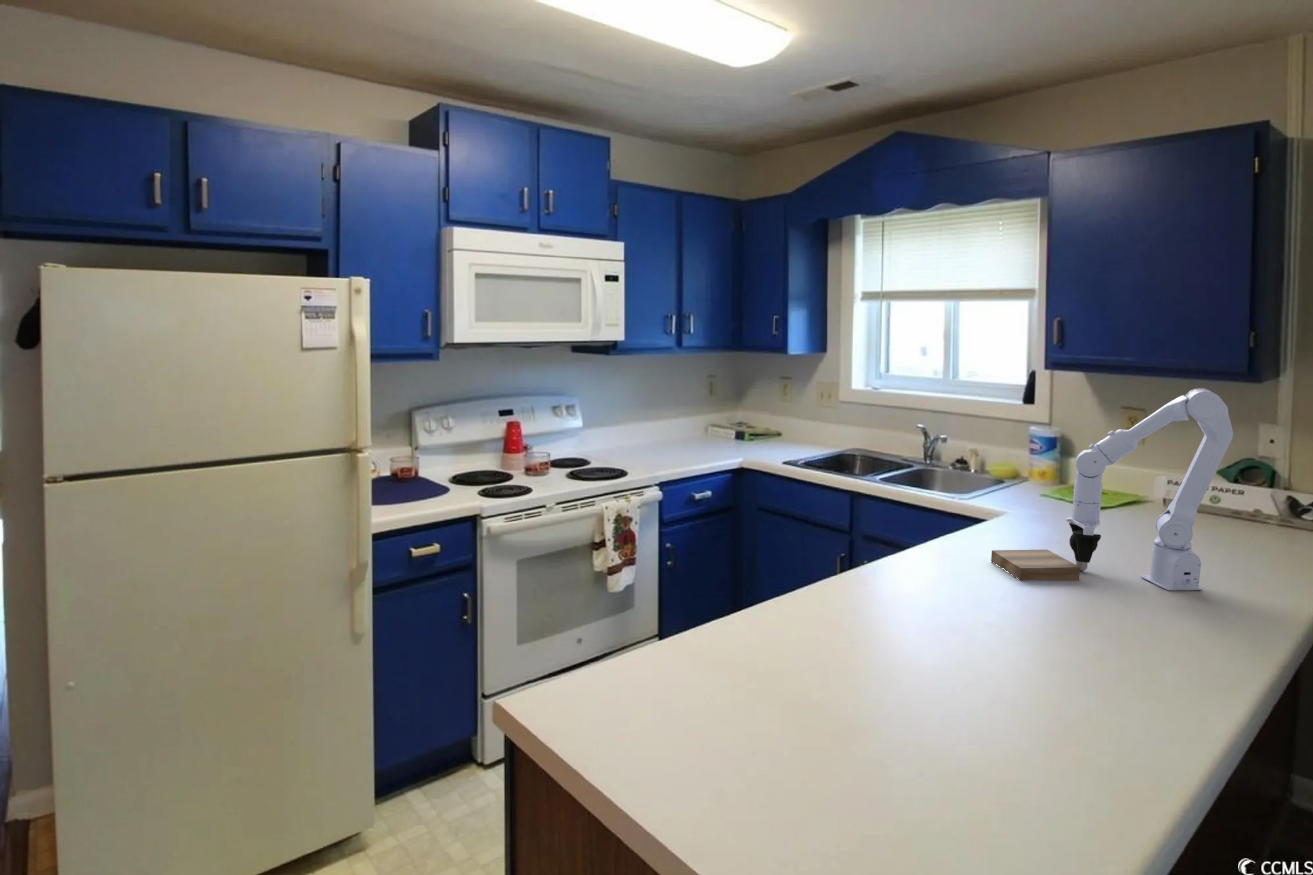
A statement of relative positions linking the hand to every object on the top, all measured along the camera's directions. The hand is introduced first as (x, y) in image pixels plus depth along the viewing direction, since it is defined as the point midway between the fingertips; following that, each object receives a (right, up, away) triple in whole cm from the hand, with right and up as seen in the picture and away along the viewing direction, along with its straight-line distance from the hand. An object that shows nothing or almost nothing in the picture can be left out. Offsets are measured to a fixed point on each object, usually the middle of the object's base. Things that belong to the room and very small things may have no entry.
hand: (1082, 557), depth 188 cm
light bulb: (0, -4, +1) cm, 4 cm away
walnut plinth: (-11, -3, +1) cm, 12 cm away
